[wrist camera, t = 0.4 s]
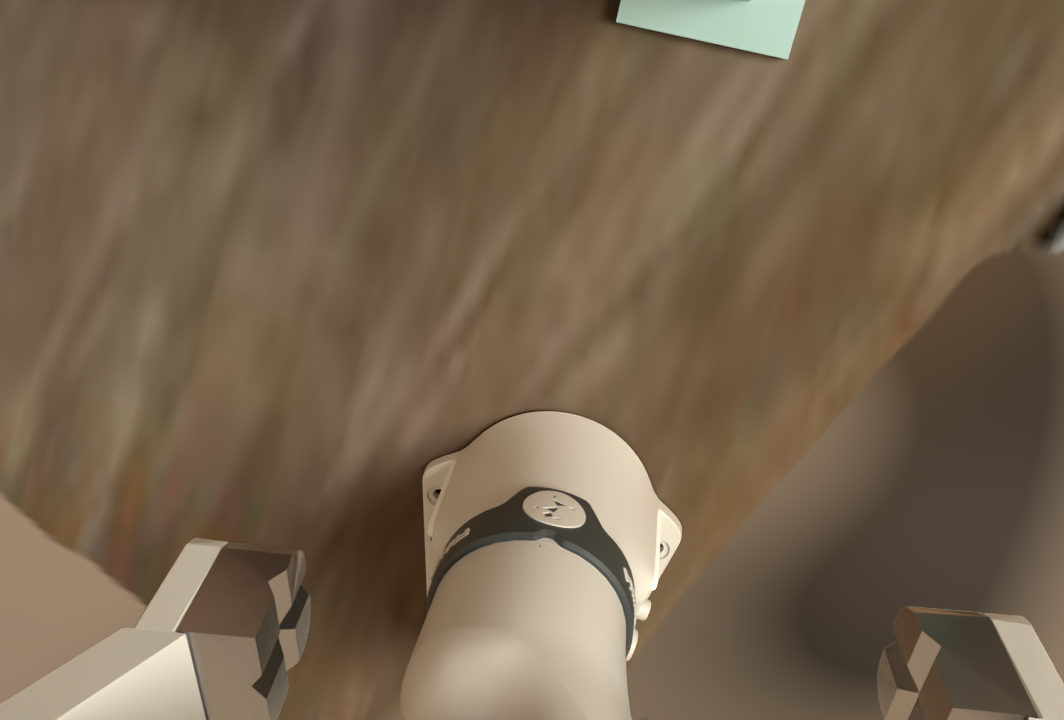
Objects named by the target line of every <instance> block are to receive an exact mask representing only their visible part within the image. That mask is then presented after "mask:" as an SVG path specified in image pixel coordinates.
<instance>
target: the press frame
mask: <svg viewBox="0 0 1064 720" xmlns="http://www.w3.org/2000/svg"><path fill="white" fill-rule="evenodd" d="M804 3H805V0H621V2H620V6H619V11H618V15H617V20H616V23H620V24H625V25H630V26H634V27H639V28H643V29H648V30H652V31H657V32H662V33H666V34H671V35H675V36H680V37H685V38H689V39H694V40H698V41H703V42H708V43H712V44H717V45H721V46H726V47H730V48H735V49H740V50H744V51H749V52H753V53H758V54H763V55H767V56H772V57H776V58H781V59H788V57H789V54H790V50H791V47H792V44H793V40H794V37H795V34H796V30H797V27H798V23H799V20H800V17H801V13H802V10H803V6H804Z"/></svg>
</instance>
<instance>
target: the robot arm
mask: <svg viewBox="0 0 1064 720" xmlns="http://www.w3.org/2000/svg"><path fill="white" fill-rule="evenodd" d="M422 486H423V511H424V536H425V561H426V586H427V603H426V619H425V622H424V624H423V627H422V629H421V632H420V635H419V637H418V640H417V642H416V645H415V648H414V650H413V653H412V655H411V658H410V661H409V663H408V666H407V668H406V671H405V675H404V678H403V682H402V688H401V715H402V720H631V716H630V709H629V701H628V691H627V679H626V661H629V659H630V658H631V656H632V654H633V652H634V650H635V647H636V644H637V639H638V631H637V630H636V629H635V625H636V618H637V619H639V620H645V619H646V618H647V616H648V614H649V611H650V608H651V601H650V600H647V599H648V597H649V595H650V593H651V592H652V590H655V589H656V587H657V583H658V580H659V578H660V576H661V574H662V573H663V571H664V569H665V567H666V566H667V564H668V562H669V561H670V559H671V557H672V555H673V554H674V552H675V550H676V548H677V547H678V545H679V543H680V541H681V535H682V526H681V523H680V522H679V520H678V519H677V517H676V516H675V515H674V514H673V513H672V512H671V511H670V510H669V509H668V508H667V507H666V506H665V505H664V504H663V503H662V502H661V501H660V500H659V499H658V497H657V496H656V494H655V492H654V490H653V488H652V485H651V482H650V480H649V477H648V475H647V472H646V470H645V468H644V466H643V464H642V463H641V461H640V460H639V458H638V457H637V455H636V454H635V453H634V451H633V450H632V449H631V448H630V447H629V446H628V445H627V443H626V442H624V441H623V440H622V439H621V438H620V437H619V436H617V435H616V434H615V433H614V432H612V431H611V430H609V429H608V428H606V427H604V426H603V425H601V424H599V423H597V422H595V421H592V420H590V419H587V418H584V417H581V416H578V415H574V414H570V413H564V412H555V411H539V412H530V413H525V414H520V415H517V416H513V417H510V418H508V419H505V420H503V421H501V422H499V423H497V424H495V425H493V426H492V427H490V428H489V429H487V430H486V431H485V432H483V433H482V434H481V435H480V436H479V437H477V438H476V439H475V440H474V441H473V442H472V443H471V444H470V445H468V446H467V447H466V448H464V449H463V450H461V451H459V452H455V453H452V454H449V455H445V456H442V457H440V458H437V459H435V460H433V461H432V462H430V463H429V464H428V465H427V466H426V468H425V471H424V474H423V479H422ZM436 489H441V492H440V495H439V494H438V493H437V492H436ZM660 543H661V544H662V545H663V546H661V547H660ZM306 570H307V569H306V563H305V557H304V552H302V551H301V550H299V549H290V548H282V547H274V546H265V545H257V544H249V543H240V542H232V541H230V542H226V541H218V540H210V539H201V538H194V539H193V540H191V541H190V542H189V543H187V544H186V545H185V546H184V548H183V549H182V551H181V553H180V554H179V556H178V558H177V559H176V561H175V562H174V564H173V566H172V567H171V569H170V570H169V572H168V574H167V575H166V577H165V579H164V580H163V582H162V583H161V585H160V587H159V588H158V590H157V592H156V593H155V595H154V596H153V598H152V600H151V601H150V603H149V604H148V606H147V608H146V609H145V611H144V613H143V614H142V616H141V617H140V619H139V621H138V622H137V624H136V626H135V627H134V628H125V627H124V628H121V629H120V630H118V631H116V632H115V633H113V634H112V635H110V636H109V637H107V638H105V639H104V640H102V641H100V642H99V643H97V644H96V645H94V646H92V647H91V648H89V649H88V650H86V651H84V652H83V653H81V654H80V655H78V656H77V657H75V658H73V659H72V660H70V661H69V662H67V663H65V664H64V665H62V666H60V667H59V668H57V669H56V670H54V671H52V672H51V673H49V674H47V675H46V676H44V677H43V678H41V679H39V680H38V681H36V682H35V683H33V684H31V685H30V686H28V687H27V688H25V689H23V690H22V691H20V692H18V693H17V694H15V695H14V696H12V697H11V698H9V699H7V700H6V701H4V702H2V703H1V704H0V720H277V718H278V715H279V713H280V710H281V708H282V705H283V703H284V700H285V697H286V695H287V692H288V690H289V687H288V680H287V673H286V671H287V670H289V669H290V668H291V667H293V666H294V665H295V664H296V663H298V662H299V661H300V658H301V656H302V653H303V650H304V647H305V645H306V641H307V636H308V631H309V626H310V619H311V601H310V593H309V592H308V591H307V590H306V589H305V588H304V587H303V586H302V585H301V582H302V580H303V577H304V575H305V573H306ZM893 627H894V630H895V632H896V635H897V638H898V640H897V641H895V642H894V643H892V644H891V645H889V646H887V647H886V648H885V649H884V651H883V654H882V657H881V660H880V663H879V666H878V681H877V682H878V683H877V688H878V696H879V702H880V706H881V709H882V713H883V716H884V720H1064V684H1063V682H1062V680H1061V678H1060V677H1059V675H1058V673H1057V671H1056V669H1055V667H1054V666H1053V664H1052V662H1051V660H1050V658H1049V656H1048V655H1047V653H1046V651H1045V649H1044V647H1043V645H1042V644H1041V642H1040V640H1039V638H1038V637H1037V635H1036V633H1035V631H1034V629H1033V627H1032V626H1031V624H1030V622H1028V621H1027V620H1026V619H1025V618H1024V617H1022V616H1014V615H1002V614H990V613H981V614H980V613H977V612H966V611H956V610H944V609H932V608H920V607H907V606H905V607H904V608H903V609H902V610H901V611H900V612H899V613H898V615H897V618H896V620H895V623H894V625H893Z"/></svg>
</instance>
